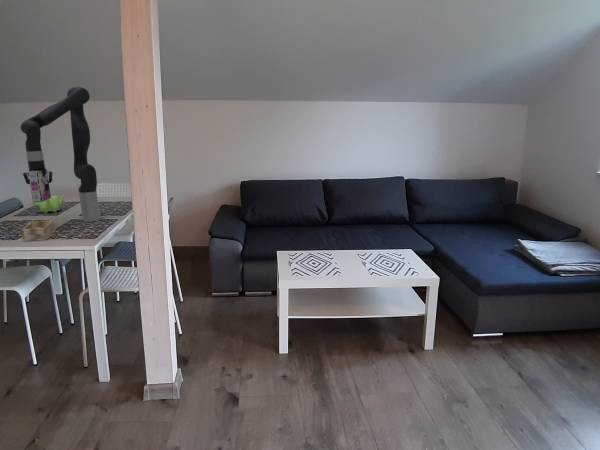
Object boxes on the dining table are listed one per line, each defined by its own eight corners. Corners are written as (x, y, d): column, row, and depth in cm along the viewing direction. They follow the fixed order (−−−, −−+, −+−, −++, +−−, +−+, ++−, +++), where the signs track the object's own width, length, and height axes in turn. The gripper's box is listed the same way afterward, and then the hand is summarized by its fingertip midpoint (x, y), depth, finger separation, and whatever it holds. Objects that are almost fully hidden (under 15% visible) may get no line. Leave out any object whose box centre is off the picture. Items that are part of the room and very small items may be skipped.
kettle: (68, 210, 289) (66, 193, 286) (51, 215, 276) (48, 197, 273) (50, 208, 294) (48, 192, 291) (32, 213, 280) (29, 196, 278)
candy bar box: (42, 202, 235) (37, 171, 230) (32, 202, 234) (27, 171, 230) (52, 198, 246) (47, 168, 241) (42, 198, 245) (37, 168, 241)
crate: (54, 231, 238) (53, 220, 237) (47, 239, 223) (45, 228, 221) (31, 232, 235) (30, 222, 234) (22, 241, 220) (20, 230, 218)
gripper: (52, 158, 240) (57, 189, 244) (22, 159, 236) (27, 190, 240) (49, 159, 233) (54, 191, 237) (18, 161, 229) (23, 193, 233)
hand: (40, 191), depth 239 cm, fingers closed on candy bar box, 5 cm apart
